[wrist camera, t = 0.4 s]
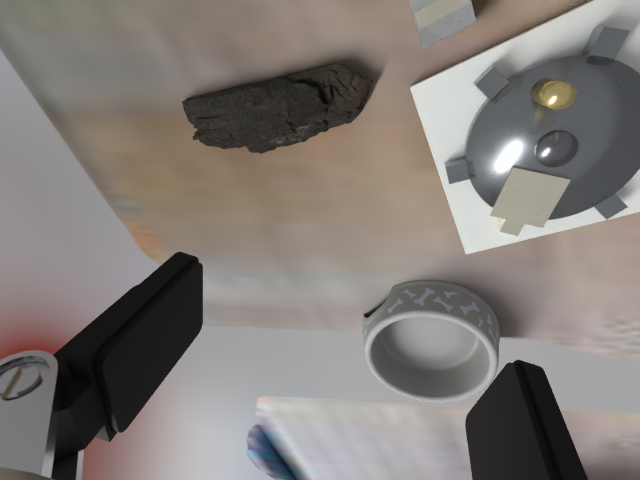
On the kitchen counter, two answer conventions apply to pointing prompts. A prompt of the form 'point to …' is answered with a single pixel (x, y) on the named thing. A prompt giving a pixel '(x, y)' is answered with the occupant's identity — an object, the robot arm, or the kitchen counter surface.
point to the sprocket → (555, 136)
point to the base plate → (465, 98)
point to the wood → (278, 109)
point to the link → (440, 18)
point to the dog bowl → (432, 341)
